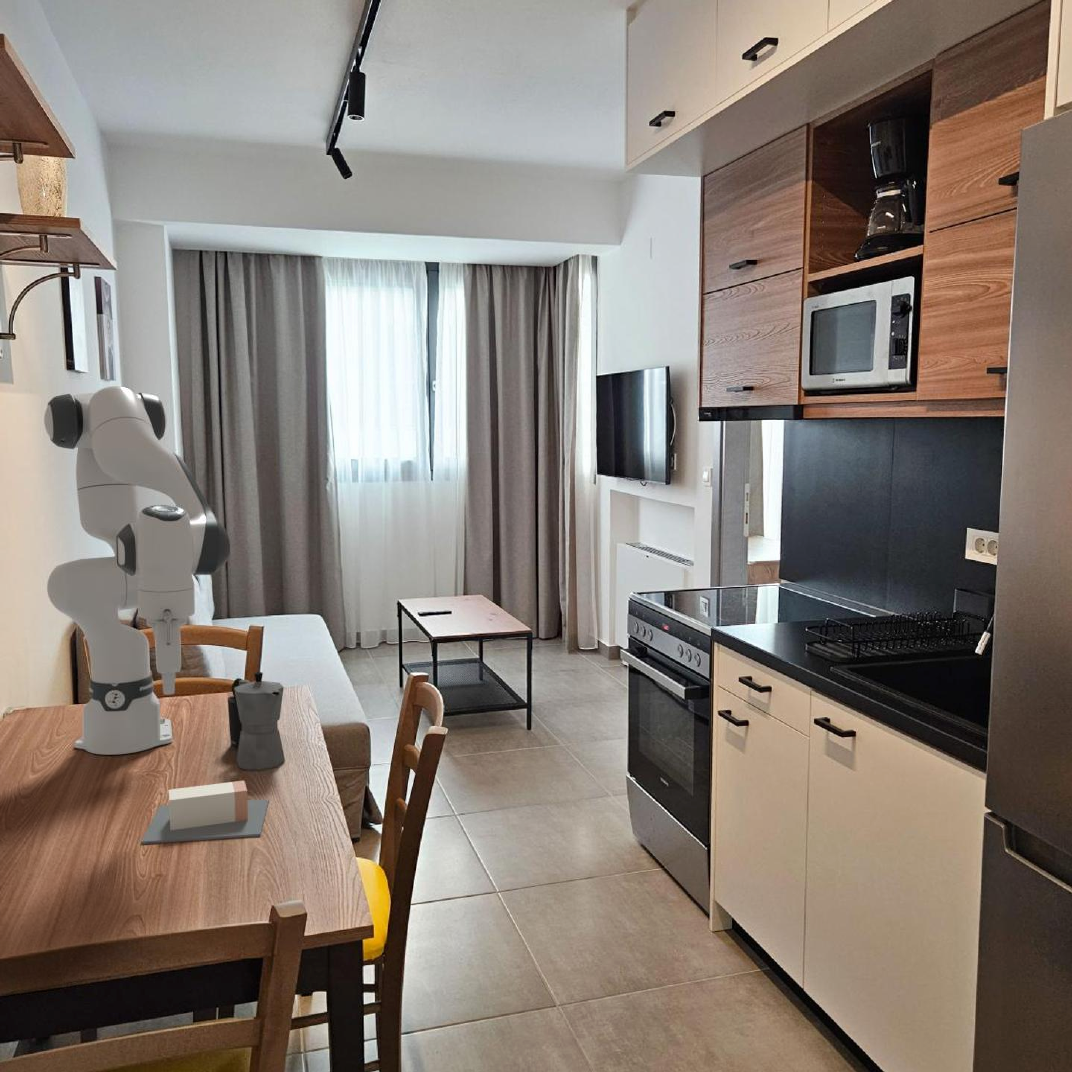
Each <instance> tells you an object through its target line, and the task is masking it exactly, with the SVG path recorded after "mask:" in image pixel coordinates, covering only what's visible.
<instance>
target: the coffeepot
mask: <svg viewBox="0 0 1072 1072" xmlns="http://www.w3.org/2000/svg"><path fill="white" fill-rule="evenodd" d="M253 674H254V675H253V676H254V679H255V680H254V681H250V680H247V679H242V678H235V680H234V681H233V683H232V684H231V693H232V696H234V701H235V706H236V710H237V714H238V718H239V719H240V721H241V723H242V731H241V733H240V740H239V747H238V750H237V755H236V765H237V767H239V768H240V769H243V770H246V771H248V770H249V771H263V770H269V769H273V768H276V767H279V766H281V765H283V763H284V762H285V761H286V759H285V753H284V748H283V743H282V738H281V734H280V729H279V727H278V724H279V723H278V721H279V720H280V719H281V712H282V705H283V704H282V703H283V696H284V695H283V694H284V689H285V687H284V685H282V684H281V683H280V682H275V681H265V680H263V675H264V673H263V672H261V671H257V672H254V673H253Z"/></svg>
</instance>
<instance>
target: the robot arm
mask: <svg viewBox="0 0 1072 1072" xmlns="http://www.w3.org/2000/svg"><path fill="white" fill-rule="evenodd" d="M166 413H167V412H166V410H165V408H164V406H163V403H162V401H161V400H160V399H159V398H158V396H156V395H153V394H150V393H144V392H138V393H135V392H134V391H133V390H131V389H129V388H127V387H124V386H120V385H112V386H106V387H103V388H101V389H99V390H97V391H95V392H93V393H92V392H89V393H78V394H73V395H72V394H71V393H66V394H65V393H63V394H60V395H56V396H53V398H51V399H50V400H49V401H48V403H47V406H46V409H45V413H44V419H43V422H44V428H45V431H46V433H47V435H48V437H49V439H50V441H51V442H52V443H53V444H54V445H55V446H56V447H59V448H62V449H70V450H74V449H77V454H76V466H75V476H76V477H75V480H76V493H77V502H78V510H79V511H78V512H79V521H80V525H81V527H82V528H83V530H84V532H86V534H88V535H89V536H91V537H92V538H94V539H97V540H100V541H103V542H105V543H106V544H108V545H109V547H111V549H112V551H113V553H114V556H103V557H102V556H100V557H90V558H80V559H76V560H73V561H68V562H65V563H61V564H58V565H56V566H55V567H54V568H53V570H52V571H51V573H50V574H49V577H48V579H47V586H46V591H47V595H48V596H47V597H48V599H49V600H50V602H51V604H52V605H53V607H54V608H55V609H57V610H58V611H59V612H60V613H62V614H64V615H66V616H67V617H69V618H70V619H71V620H73V621H74V623H76V624H77V626H78V627H79V628H80V629H81V632H82V633H83V635H84V637H85V639H86V642H87V645H88V652H89V660H90V673H91V679H89V686H88V691H89V698H91V699H89V701H88V702H87V703H86V704H85V705H84V706H83V707H82V724H81V725H82V732H81V733H82V736H81V738H79V739H77V740H76V741H74V748H75V749H76V748H77V749H80V750H85V751H86V752H88V753H91V754H96V755H107V756H108V755H113V756H114V755H125V754H132V753H137V752H142V751H146V750H149V749H152V748H154V747H158V746H161V745H166V744H170V743H172V742H173V731H172V722H171V720H170V719H168V718H164V717H161V708H160V707H161V706H160V700H159V699H158V697H157V696H156V694H155V693H154V690H155V689H154V688H155V687H154V684H155V683H154V682H155V681H154V679H153V671H152V670H151V665H150V664H151V663H150V661H151V660H150V642H149V639H148V637H147V636H146V634H145V633H143V632H142V631H141V630H139V629H136V628H134V627H133V626H130V625H126V624H123V623H121V621H120V618H119V612H120V611H124V610H125V611H126V610H132V609H133V610H134V609H137V616H138V617H139V618H141V619H145V620H146V621H145V622H146V626H147V627H149V628H152V634H153V639H154V646H155V662H156V663H155V664H156V665H155V666H156V672H157V673H158V674H161V680H162V693H163V695H165V696H166V695H174V694H175V693H176V688H175V687H176V686H175V684H176V676H177V675H176V674H177V673H179V672H180V671H181V669H182V647H181V646H182V645H181V643H182V638H181V627H183V626H185V625H187V624H188V618H189V617H191V616H193V615H195V612H196V611H195V609H196V608H195V607H196V606H195V581H194V578H193V575H194V576H207V575H208V576H213V575H215V574H216V573H217V572H218V571H219V570H220V569H222V567H223V566H225V564H226V563H227V562H228V560H229V558H230V555H231V543H230V539H229V535H228V533H227V530H226V528H225V527H224V526H223V524H222V523H221V522H220V520H219V519H218V518H217V517H216V516H215V514H214V512H213V510H212V509H211V507H210V505H209V504H208V502H207V500H206V498H205V495H204V494H203V492H202V491H201V488H200V487H199V485H198V483H197V481H196V480H195V478H194V475H193V474H192V472H191V471H190V469H189V467H188V465H187V464H186V462H185V461H184V460H183V458H182V457H181V456H179V455H178V454H176V453H174V452H172V451H171V450H170V449H168V448H167V447H166V446H165V445H164V444H163V443H162V442H161V440H162V439H163V438H164V437H165V436H164V435H165V431H166V427H167V419H168V418H167V414H166ZM137 487H141V488H142V487H143V488H145V489H149V490H153V491H156V492H159V493H162V494H164V495H165V496H167V497H169V498H170V499H172V501H173V502H174V504H175V506H174V505H171V504H170V505H169V504H168V505H167V504H154V505H150V506H147V507H144V508H143V509H141V510H140V507H139V500H138V493H137V492H138V491H137Z"/></svg>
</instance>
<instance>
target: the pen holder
mask: <svg viewBox="0 0 1072 1072" xmlns="http://www.w3.org/2000/svg"><path fill="white" fill-rule="evenodd" d="M227 709H228V723H229V724H228V727H229V737H230V745H231V747H232V748H233V749H235V750H237V751H238V747H239V740H240V733H241V731H242V723H241V721H240V719H239V718H238V714H237V710H236V706H235V701H234V696H233V695H231V696H229V697H228V698H227Z"/></svg>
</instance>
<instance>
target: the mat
mask: <svg viewBox="0 0 1072 1072" xmlns="http://www.w3.org/2000/svg"><path fill="white" fill-rule="evenodd" d="M269 801H270V800H269V799H267V798H266V799H250V800H249V799H247V802H248V820H243V821H236V822H228V823H221V824H214V825H206V826H199V827H192V828H184V829H177V830H170V814H169V804H168V805H159V807H158V809H157V810H156V812H155V814H154V816H153V818H152V820H151V821H150V824H149V826H148V828H147V829H146V832H145V833H144V835H143V837H142V839H141V841H140V845H146V844H149V845H150V844H163V843H175V842H176V843H177V842H193V841H207V840H224V839H236V838H237V839H238V838H239V839H240V838H253V837H255V838H256V837H261V836H262V835H261V834H262V831H263V827H264V823H265V818H266V814H267V811H268V806H269V803H270V802H269Z"/></svg>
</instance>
